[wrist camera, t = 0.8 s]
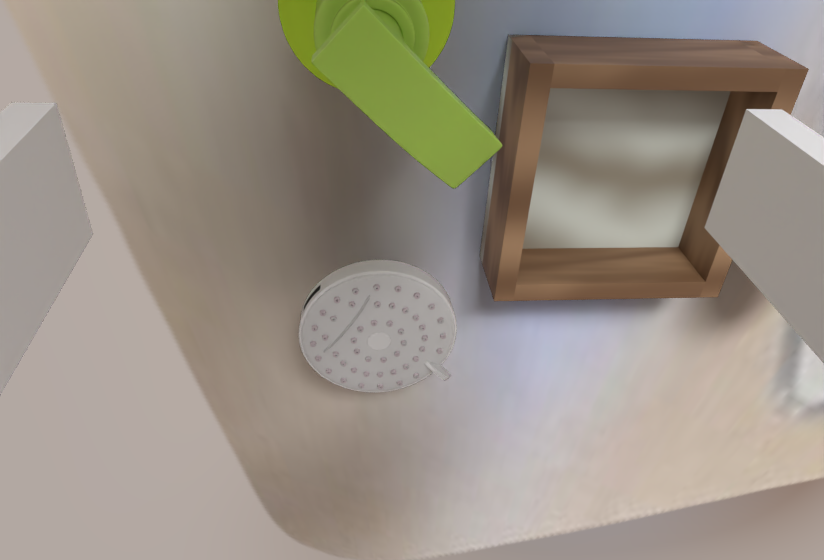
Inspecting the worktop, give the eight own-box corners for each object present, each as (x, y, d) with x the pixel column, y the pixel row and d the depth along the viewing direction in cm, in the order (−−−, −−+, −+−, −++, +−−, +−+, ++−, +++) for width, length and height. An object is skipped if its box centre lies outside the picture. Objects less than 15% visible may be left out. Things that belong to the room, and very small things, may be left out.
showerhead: (405, 426, 42) (267, 368, 38) (397, 351, 48) (276, 294, 44) (499, 331, 38) (356, 254, 34) (477, 262, 44) (353, 189, 40)
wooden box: (508, 34, 36) (530, 63, 32) (757, 40, 37) (808, 69, 33) (479, 256, 44) (494, 301, 40) (683, 253, 45) (717, 297, 41)
